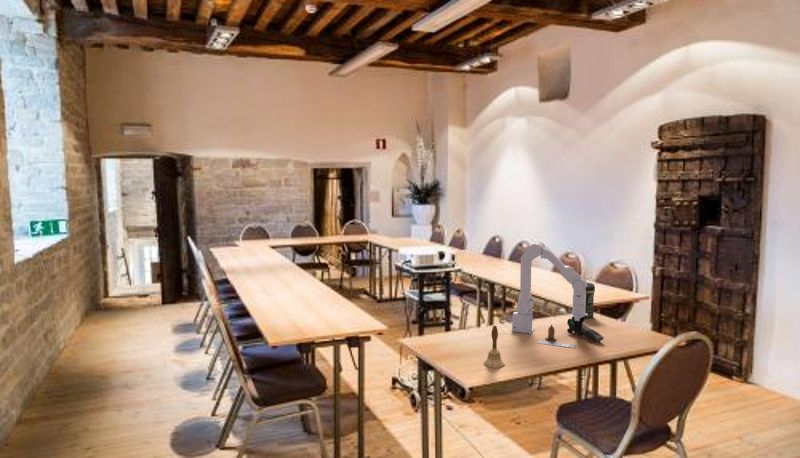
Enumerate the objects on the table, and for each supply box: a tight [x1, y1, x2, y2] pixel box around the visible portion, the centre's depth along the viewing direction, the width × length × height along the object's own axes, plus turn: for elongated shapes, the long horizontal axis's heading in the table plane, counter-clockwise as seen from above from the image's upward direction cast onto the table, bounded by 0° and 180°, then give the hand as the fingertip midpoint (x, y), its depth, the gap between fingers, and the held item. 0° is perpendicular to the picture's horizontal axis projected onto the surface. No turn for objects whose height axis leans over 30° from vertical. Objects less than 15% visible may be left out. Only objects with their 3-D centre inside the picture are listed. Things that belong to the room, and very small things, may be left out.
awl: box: [547, 324, 555, 340], centre depth 244 cm, size 3×3×7 cm
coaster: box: [545, 337, 558, 342], centre depth 244 cm, size 5×5×1 cm
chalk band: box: [536, 340, 576, 349], centre depth 238 cm, size 16×4×1 cm, turn 66°
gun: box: [566, 318, 605, 344], centre depth 249 cm, size 4×20×10 cm, turn 23°
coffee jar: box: [583, 282, 596, 319], centre depth 284 cm, size 10×8×19 cm
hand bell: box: [483, 325, 505, 369], centre depth 211 cm, size 8×8×16 cm
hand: (577, 332), depth 246 cm, fingers closed
